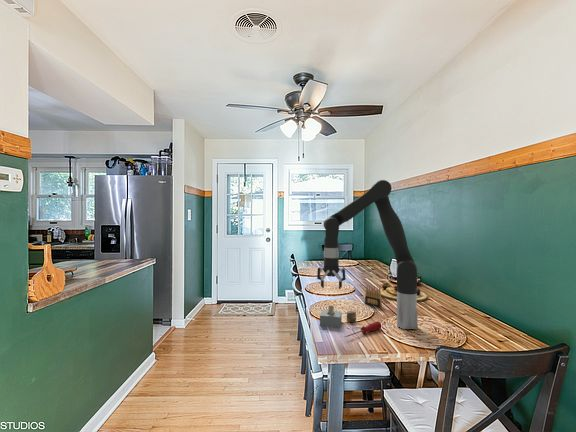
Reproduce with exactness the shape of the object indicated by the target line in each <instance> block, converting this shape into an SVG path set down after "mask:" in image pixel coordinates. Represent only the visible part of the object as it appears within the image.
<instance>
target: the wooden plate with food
mask: <svg viewBox="0 0 576 432" xmlns="http://www.w3.org/2000/svg"><path fill="white" fill-rule="evenodd" d="M381 287H382V288H380V290H381V298H384V299H387V300H391V301H396V302H397V284H396V285H392V286H391V284H390V283H389V282H386V281H384V282H383V283H382V286H381ZM378 293H379V291H378ZM427 300H428V295H427V294H425V293H424V292H422V291H421V289H420V288H419V287H418V286H417V303H418V302H419V303H420V302H425V301H427Z"/></svg>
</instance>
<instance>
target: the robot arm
mask: <svg viewBox="0 0 576 432" xmlns="http://www.w3.org/2000/svg"><path fill="white" fill-rule="evenodd" d="M392 190H393V189H392V184H391V183H390V182H389V181H388V180H385V179H380V180H377V181H376V182H375V183H374V184H373V185H372V186H371V188H369V189H368V190H367V191H366V192H365V193H363V194H362V195H361V196H359V197H357V198H356V199H354V200H353V201H351V202H350V203H348V204H347V205H345V206H344V207H341V208H340V210H339V211H337V212H335V213H333V214H332V215H330V216H329V217H327V218H326V219H325V220H324V221H323V228H324V229H325V237H324V241H323V242H324V244H323V247H324V248H323V267H320V266H318V267H317V273H316V275H317V277H316V279H317V280H320V287H321V288H322V289H324V287H325V280H324V279H325V278H326V277H334V278H335V277H336V278H337V280H338V289H339V290H342V289H341V288H342V287H343V281H345V280H346V278H347V277H346V268H345V267H343V268H341V267H339V266H340V265H339V263H340V259H339V258H340V256H339V235H340V234H339V232H340V226H341V225H342V224H344V223H347V222H348V221H350V220H352V219H353V218H355V217H356V216H357V215H359V213H361V212H363V210H365V209H367V208H368V207H369V206H371V205H372V204H373V203H374V204H375V207H376V208H377V211H378V215H379V218H380V222H381V225H382V229H383V231H384V234H385V238H386V239H387V242H388V244H389V245H390V247H391V249H392V251H393V253H394V257H395V260H396V266H397V267H396V285H397V301H396V327H397V326H398V328H399V327H400V328H399V329H401V328H402V329H401V330H405V329H417V330H418V316H419V315H418V313H419V312H418V311H419V310H418V309H417V308H418V307H417V305H418V302H417V287H418V267H417V265H416V263H415V261H414V259H413V257H412V254H411V252H410V250H409V246H408V241H407V237H406V234H405V230H404V227H403V223H402V222H401V221H402V220H401V219H400V217H399V216H398V213H396V212H395V210H394V208H393V207H392V204H391V201H390V198H389V197H390V196H389V195H390V194H391V192H392ZM321 272H324V274H323V275H322V277H321ZM339 272H340V273H341V274H342V277H341V275H340V274H339Z"/></svg>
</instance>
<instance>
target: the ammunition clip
mask: <svg viewBox="0 0 576 432" xmlns="http://www.w3.org/2000/svg"><path fill="white" fill-rule="evenodd" d="M380 289H381V287H377V286H371V285H366V287H365V297H364V304H365V305H368V306H371V307H372V306H373V307H376V308H382V296H381V290H380ZM378 292H379V293H378Z"/></svg>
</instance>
